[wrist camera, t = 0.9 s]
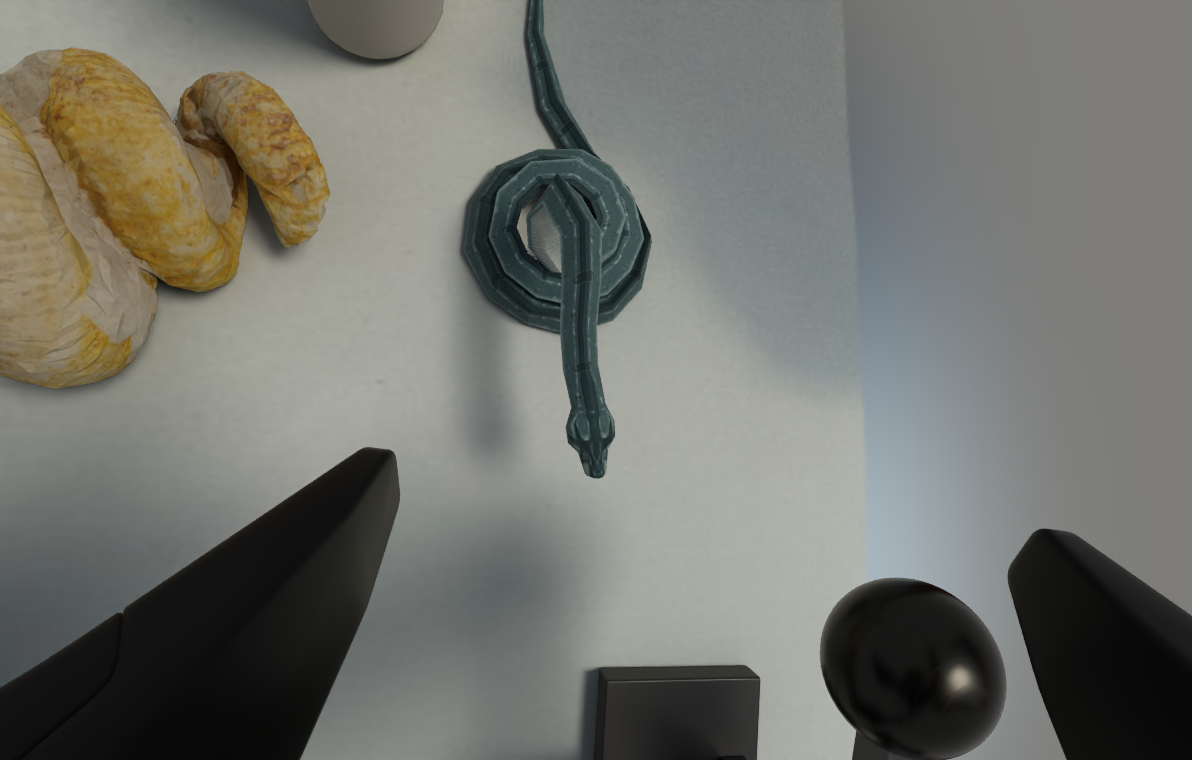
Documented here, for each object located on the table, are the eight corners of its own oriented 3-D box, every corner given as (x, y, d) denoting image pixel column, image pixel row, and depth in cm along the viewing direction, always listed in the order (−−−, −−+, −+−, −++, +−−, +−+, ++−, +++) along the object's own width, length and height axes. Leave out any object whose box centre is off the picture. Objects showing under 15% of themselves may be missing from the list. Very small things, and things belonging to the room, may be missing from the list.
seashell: (-464, -9, 14) (269, -23, 16) (-177, 89, 20) (328, 68, 22) (-337, 437, 15) (329, 362, 17) (-102, 402, 21) (369, 350, 23)
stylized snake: (490, 474, 23) (502, 496, 17) (425, -53, 24) (412, -225, 17) (675, 446, 25) (750, 457, 18) (610, -48, 25) (661, -203, 19)
